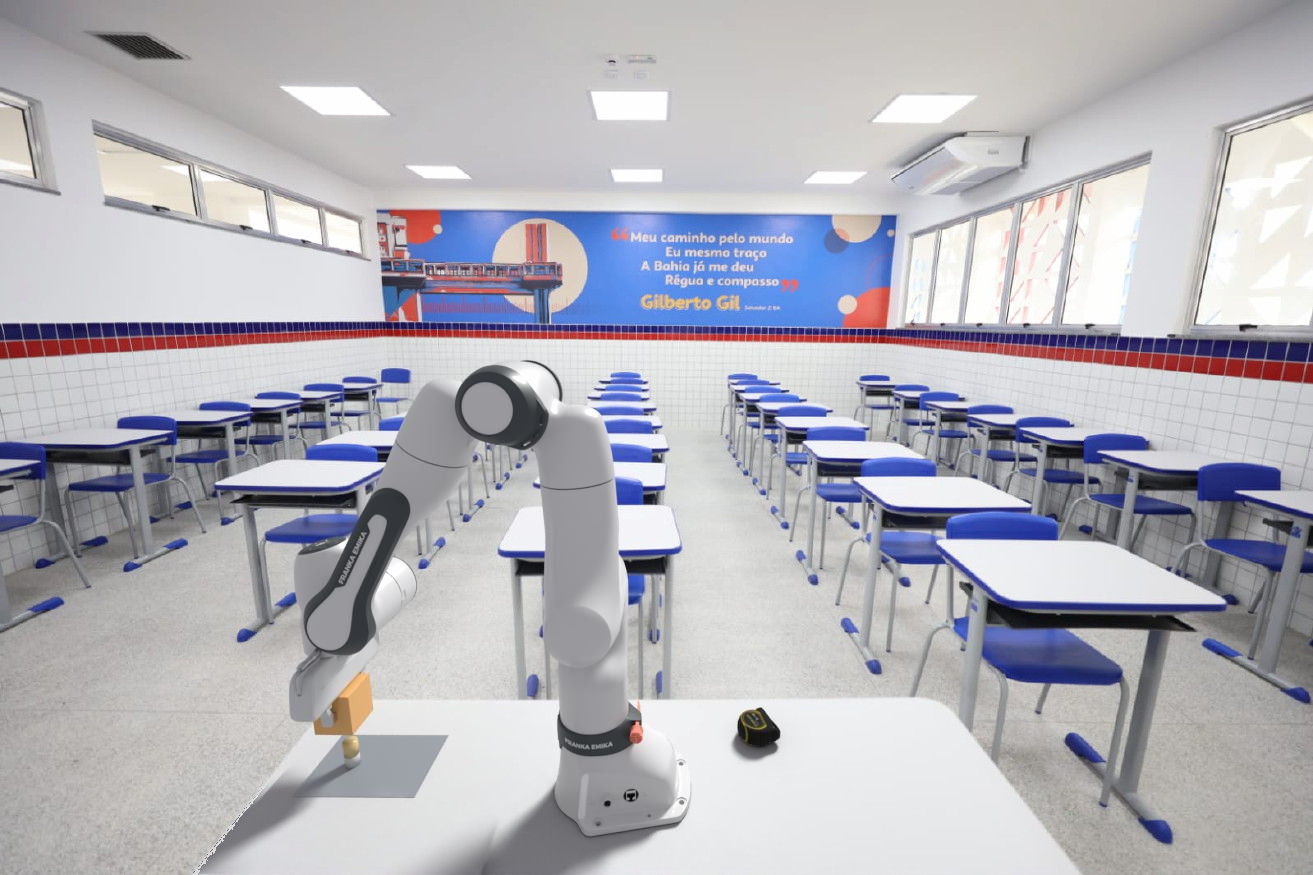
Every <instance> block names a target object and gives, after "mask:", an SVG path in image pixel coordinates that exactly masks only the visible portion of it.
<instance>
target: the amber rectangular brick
mask: <svg viewBox="0 0 1313 875" xmlns="http://www.w3.org/2000/svg"><path fill="white" fill-rule="evenodd" d="M371 685H372V684H371V679H370V673H365V674H358V675H357V676H356V677H355V678H354V679H353V681H352V682H351V683H350V684H349V685H348V686H347V687H346V688H345V689H344V690H343V692H342V693H341V694H340V695H339V696H338V697H337V698H336V699H335V700H334V701H333V703H332V708H331V709H330V711H331V712H337V719H338V720H337V721H336V722H335V724H334V725H333V726H332V727H323V726H322V724H321V718H318V719H317V720H316V721H314V722H312V723H313V730H314V735H315V736H342V735H356V733H357V731H358V730H359V728H360V727H361V726H362V725H363V723H364V722H365V721H366V719H368V717H369V715H370V714H372V712H373V711H374V703H373V701H374V700H373V695H372V686H371Z"/></svg>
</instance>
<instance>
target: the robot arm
mask: <svg viewBox="0 0 1313 875" xmlns="http://www.w3.org/2000/svg"><path fill="white" fill-rule="evenodd" d="M563 393H564V392H563V387H562V383H561V381H560V379H559V377H558V375H557V374H556V372H554V370H552V369H551V368H550V367H548V366H547V365H546V364H543V363H541V362H539V361H536V360H529V359H525V360H512V359H511V360H504V361H499V362H496V363H494V364H491V365H489V364H488V365H485V366H483V367H480V368H478V369H476V370H475V371H473V372H471V373H470V374H469V375H468V376H467V377H466V378H465V379H463V381H461V380H458V379H455V378H446V377H445V378H436V379H435V378H434V379H432V380H430V381H428V382H427V383H425V384H424V386H423V387H422V388H421V389H420V391H419V392H418V393H417V395H416V396H415V398H414V400H413V401H412V404H411V405H410V406H409V407H408V408H409V409H408V410H407V413H405V414H406V415H405V416H404V418H403V420H402V423H401V425H400V427H399V430H398V431H397V434H396V437H395V439H394V442H393V445H392V447H391V450H390V452H389V455H388V457H387V460H386V462H385V464H384V466H383V470H382V472H381V474H380V476H379V478H378V481H377V483H376V484H375V487H374V488H373V490H372V492H371V494H370V496H369V498H368V500H367V502H366V504H365V506H364V508H363V510H362V512H361V514H360V516H359V517H358V520H357V521H356V523H355V525H354V527H353V529H352V531H351V533H350V534H349V537H346V536H332V537H327V538H323V539H320V540H318V541H315V542H312V543H311V544H309V545H307V546H305V547H303V548H302V549H301V550H300V551H298V553H297V554H296V555H295V558H294V564H293V583H294V592H295V593H294V594H295V599H296V603H297V604H298V607H299V608H300V613H301V614H300V619H299V625H300V626H299V627H300V633H301V640H302V648H303V652H304V654H305V655H306V656H307V657H306V658H305V659H304V660H302V661H301V662H300V663H299V664H298V665H297V666H296V671H295V672H293V674H292V676H291V678H290V681H289V685H288V686H289V687H288V700H289V701H288V702H289V703H288V706H289V716H290V719H291V720H292V721H294V722H297V723H313V722H314V721H316V720H317V719H318V718H321V724H322V726H323V727H332V726H333V725H334V724H335V722H336V721H337V720H338V719H337V712H331V711H330V709H331V708H332V703H333V701H334V700H335V699H336V698H337V697H338V696H339V695H340V694H341V693H342V692H343V690H344V689H345V688H346V687H347V686H348V685H349V684H350V683H351V682H352V681H353V679H354V678H355V677H356V676H357V675H358V674H366V670H367V669H366V666H367V665H368V664H369V663H370V662H371V661H372V660H373V659H374V657H376V655H377V654H378V653H379V651H380V646H381V630H382V629H383V628H384V627H385V626H387V624H389V623H390V621H392V620H393V619H394V618H395V617H396V616H397V615H398V614H399V613H400V612H401V611H403V610H404V609H405V608H406V607H407V606H408V605H409V604H410V602H411V601H412V600H413V599H414V598H415V596H416V593H417V589H418V582H417V578H416V575H415V572H414V570H413V568H412V567H411V566H410V564H408V563H407V562H406V561H404V559H401V558H399V557H396V556H395V554H396V552H397V550H398V549H399V547H400V546H401V544H402V543H403V542H404V541H405V539H406V538H407V537H408V536H409V535H410V534H411V533H412V532H413V531H414V529H416V528H417V527H418V526H419V525H420V524H421V523H423V521H425V520H426V519H427V518H429V516H431V515H432V514H433V513H435V512H436V511H437V510H438V509H440V508H441V507H442V506H443V505H444V504H446V503H447V502H448V501H449V500H450V498H452V496H453V495H454V493H455V492H456V490H457V489H458V488H459V486H460V484H461V482H462V480H463V479H464V477H465V475H466V473H467V471H468V469H469V466H470V464H471V461H472V458H473V456H474V453H475V451H476V448H477V447H478V444H479V442H484V443H487V444H491V445H496V446H504V447H507V448H511V449H515V450H519V451H526V450H529V449H532V450H533V452H534V454H535V456H536V461H537V467H538V478H539V487H540V489H539V490H540V496H541V505H542V514H543V516H542V517H543V527H544V563H543V564H544V565H543V566H544V568H543V569H544V570H543V573H544V574H543V594H544V595H543V596H544V597H543V599H544V600H543V601H544V602H543V603H544V604H543V605H544V606H543V607H544V608H543V610H544V612H543V613H544V615H543V616H544V617H543V628H542V630H543V631H542V637H543V644H544V647H545V649H546V650H547V652H548V653H549V655H550V656H551V657H552V658H553V659H554V660H555V661H557V671H556V672H557V688H558V703H559V705H558V706H559V710H558V714H557V720H556V728H557V729H556V730H557V731H556V732H557V740H558V746H559V749H560V754H559V767H558V771H557V772H558V773H557V776H556V777H557V778H556V780H555V781H556V782H555V784H554V790H553V791H554V792H553V794H554V799H555V802H556V804H557V806H558V808H559V809H560V811H562V813H563V814H565V815H566V816H568V818H570V819H572V820H573V821H575V823H577V825H578V828H579V829H580V831H581V832H582V833H583V834H584V835H585V836H586V837H596V836H601V835H607V834H613V833H619V832H626V831H631V830H632V831H633V830H638V829H644V828H651V827H657V826H658V827H659V826H664V825H669V824H674V823H675V824H676V823H679V822H681V821H682V820H683V819H684V817H685V815H686V814H687V812H688V810H689V808H690V807H689V806H690V802H691V799H692V796H691V795H692V781H691V773H690V768H689V765H688V763H687V761H686V759H685V757H684V756H683V755H682V753H681V752H679V751H677V750H675V748H674V746H673V744H672V742H671V740H670V738H669V737H668V735H667V734H665V733H664V732H663V731H660V730H658V729H657V728H655V727H653V726H651V725H649V724H647V723H646V722H644V721H643V716H642V712H641V704H640V701H639V700H638V701H637V704H636V705H637V706H636V707H635V705H633V704H632V703H631V702H630V701H629V680H628V675H629V674H628V652H629V651H628V649H629V647H628V645H629V578H628V572H627V569H626V565H625V562H624V559H623V558H622V556H621V555H620V554H619V553H620V551H619V550H620V549H619V548H620V544H619V542H620V541H619V540H620V539H619V536H620V523H619V522H620V520H619V510H618V498H617V487H616V486H617V485H616V484H617V483H616V475H615V466H614V464H615V463H614V457H613V452H612V446H611V442H610V441H611V440H610V438H609V433H608V430H607V426H606V423H605V420H604V418H603V416H602V415H601V413H600V411H598V410H596V409H595V408H594V407H591V406H588V405H585V404H581V403H565V402H563V399H564V398H563V396H564V394H563Z"/></svg>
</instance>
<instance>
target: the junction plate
mask: <svg viewBox="0 0 1313 875" xmlns="http://www.w3.org/2000/svg"><path fill="white" fill-rule="evenodd" d="M448 737H449V734H354V735H340V737H339V739H337V741H336V742H335V743H334V745H333V746H332V747H331V748H330V750H329V751H328V752H327V753H326V755H325V756H324V757H323V758H322V760H321V761H320V762H319V763H318V765H317V766H316V767H315V768H314V769H313V770H312V771H311V773H310V774H309V776H308V777H307V778H306V779H305V780H304V781H303V783H302V784H301V786H300V787H299V788H298V789H297V790H296V791H295V793H294V794H293V795H292V798H389V799H390V798H395V799H396V798H398V799H399V798H402V799H403V798H405V799H407V798H408V799H409V798H416V795H417V793H418V792H419V791H420V789H421V786H422V785H423V782H424V781H425V779H426V777H427V776H428V774H429V772H430V770H431V768H432V766H433V764H434V763H435V761H436V759H437V757H438V756H439V754H440V752H441V750H443V746H444V745H445V743H446V741H447V740H448Z"/></svg>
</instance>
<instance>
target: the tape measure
mask: <svg viewBox="0 0 1313 875" xmlns="http://www.w3.org/2000/svg"><path fill="white" fill-rule="evenodd" d="M736 730H737V733H738V735H739V737H740V739H742V740H743V741H744V742H745V743H747V744H748V745H751V746H754V747H765V746H766V745H769V744H771V743H773V742H776V741H779V739H781V730H780V728H779V727H778V725H777V724H776V723H775V722H774V721H773V719H771V717H770V715H768V713H767V712H766V711H765V709H764V708H763V707H762V706H761V707H757V708H755V709H747V710H745V711H743V712H742V713H741V714H740V715H739V716H738V719H737V729H736Z"/></svg>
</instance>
